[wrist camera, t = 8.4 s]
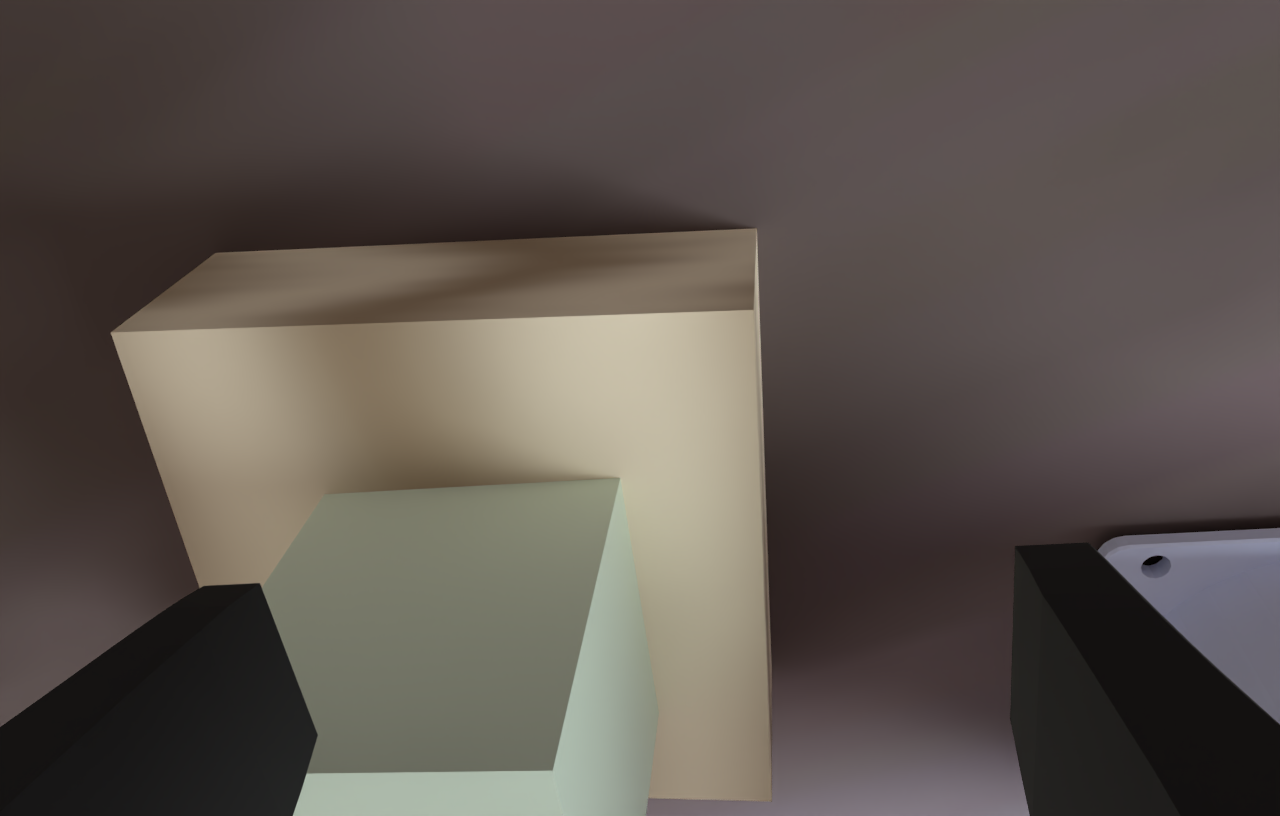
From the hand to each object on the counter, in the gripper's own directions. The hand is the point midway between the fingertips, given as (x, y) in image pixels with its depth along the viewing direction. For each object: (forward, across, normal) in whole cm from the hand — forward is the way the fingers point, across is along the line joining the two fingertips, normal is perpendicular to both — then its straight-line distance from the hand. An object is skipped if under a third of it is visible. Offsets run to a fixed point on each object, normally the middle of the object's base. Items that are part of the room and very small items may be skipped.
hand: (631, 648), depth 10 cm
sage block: (+6, +4, +4) cm, 9 cm away
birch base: (+10, +4, +4) cm, 12 cm away
